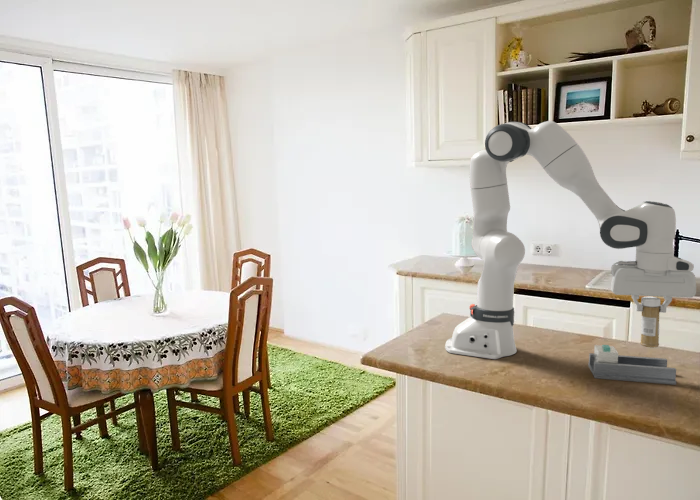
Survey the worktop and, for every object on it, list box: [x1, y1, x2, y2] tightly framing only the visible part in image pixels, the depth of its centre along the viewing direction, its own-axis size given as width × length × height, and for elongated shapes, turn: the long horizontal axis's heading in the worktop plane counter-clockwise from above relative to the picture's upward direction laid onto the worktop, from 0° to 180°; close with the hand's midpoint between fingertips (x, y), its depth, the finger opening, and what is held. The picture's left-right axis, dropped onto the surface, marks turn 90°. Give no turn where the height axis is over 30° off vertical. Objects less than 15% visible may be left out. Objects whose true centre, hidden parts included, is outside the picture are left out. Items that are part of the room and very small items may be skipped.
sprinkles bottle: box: [640, 296, 661, 348], centre depth 144 cm, size 5×5×13 cm
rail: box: [587, 344, 677, 386], centre depth 146 cm, size 20×10×8 cm, turn 75°
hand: (650, 311), depth 143 cm, fingers closed on sprinkles bottle, 4 cm apart
